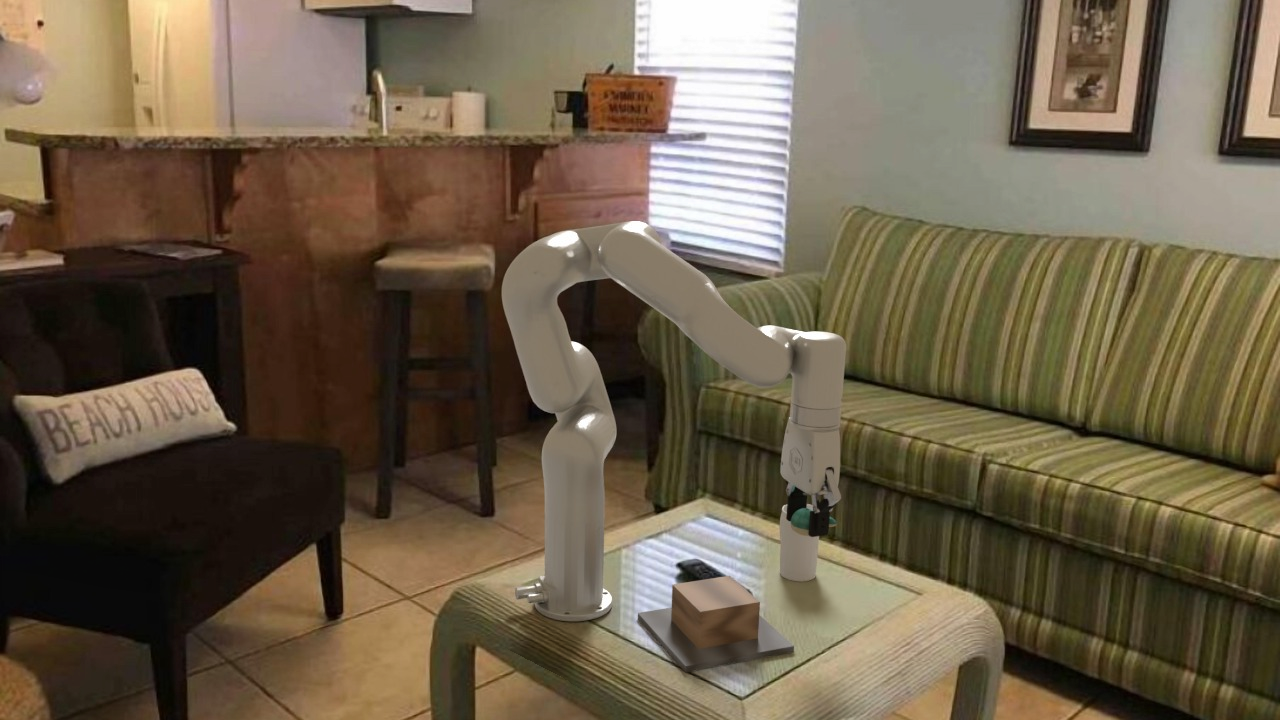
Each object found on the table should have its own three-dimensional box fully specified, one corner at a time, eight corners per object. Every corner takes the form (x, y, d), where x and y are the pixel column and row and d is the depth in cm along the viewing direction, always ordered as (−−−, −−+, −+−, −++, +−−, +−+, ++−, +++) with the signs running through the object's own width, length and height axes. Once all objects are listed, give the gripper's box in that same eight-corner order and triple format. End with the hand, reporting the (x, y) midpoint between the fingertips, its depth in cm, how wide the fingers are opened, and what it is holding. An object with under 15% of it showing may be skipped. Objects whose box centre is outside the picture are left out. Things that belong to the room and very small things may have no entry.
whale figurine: (782, 527, 172) (784, 504, 171) (821, 521, 175) (823, 498, 174) (803, 541, 167) (805, 517, 166) (843, 534, 170) (845, 511, 169)
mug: (824, 579, 193) (828, 514, 190) (790, 584, 190) (794, 519, 188) (795, 557, 202) (799, 495, 199) (762, 562, 199) (766, 499, 197)
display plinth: (685, 672, 160) (687, 628, 159) (637, 618, 176) (638, 577, 175) (793, 652, 167) (796, 609, 166) (738, 602, 183) (740, 562, 182)
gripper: (765, 401, 173) (758, 510, 177) (824, 433, 157) (815, 552, 161) (807, 398, 176) (799, 505, 180) (869, 428, 160) (859, 545, 164)
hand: (806, 526), depth 171 cm, fingers closed on whale figurine, 5 cm apart
